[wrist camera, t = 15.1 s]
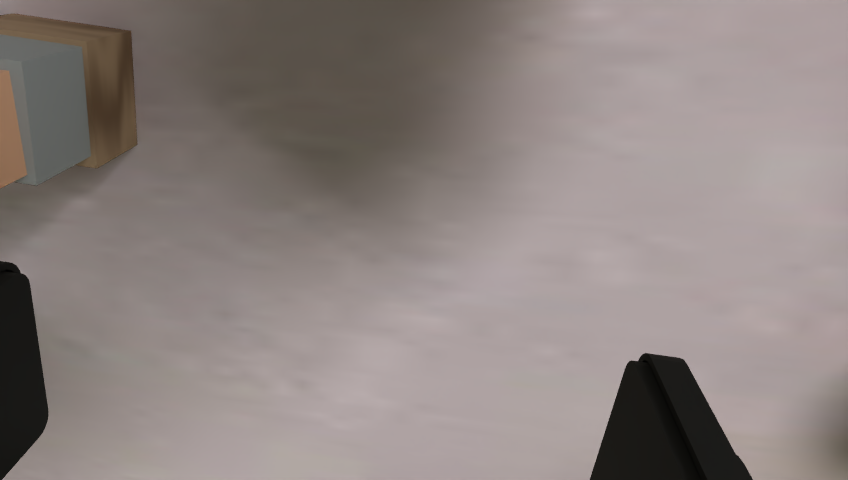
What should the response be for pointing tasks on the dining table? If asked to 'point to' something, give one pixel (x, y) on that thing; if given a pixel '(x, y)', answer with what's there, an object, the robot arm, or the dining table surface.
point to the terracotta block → (9, 135)
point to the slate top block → (47, 104)
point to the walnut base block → (93, 78)
